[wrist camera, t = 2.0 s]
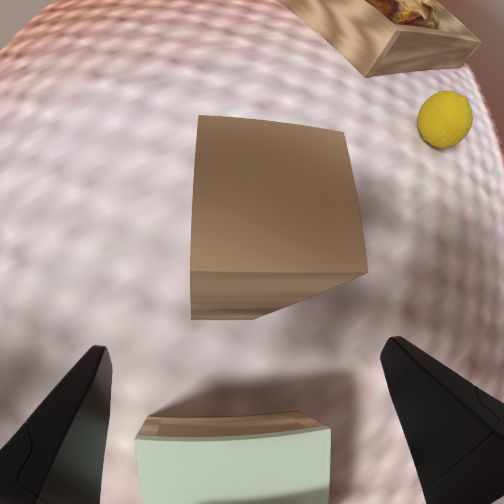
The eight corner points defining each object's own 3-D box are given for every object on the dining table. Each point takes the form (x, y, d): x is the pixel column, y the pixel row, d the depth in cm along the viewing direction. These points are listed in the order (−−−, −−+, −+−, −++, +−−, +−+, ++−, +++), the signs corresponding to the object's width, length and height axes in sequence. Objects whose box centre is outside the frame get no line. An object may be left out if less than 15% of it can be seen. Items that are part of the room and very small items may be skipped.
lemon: (430, 167, 28) (478, 127, 20) (396, 128, 28) (438, 81, 21) (447, 150, 30) (489, 114, 22) (417, 114, 30) (454, 73, 23)
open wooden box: (298, 531, 16) (317, 558, 12) (165, 541, 14) (162, 573, 10) (299, 410, 19) (324, 424, 15) (147, 416, 17) (137, 434, 13)
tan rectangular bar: (252, 319, 20) (367, 272, 7) (191, 319, 19) (190, 271, 6) (250, 260, 21) (343, 132, 8) (191, 259, 20) (198, 115, 7)
